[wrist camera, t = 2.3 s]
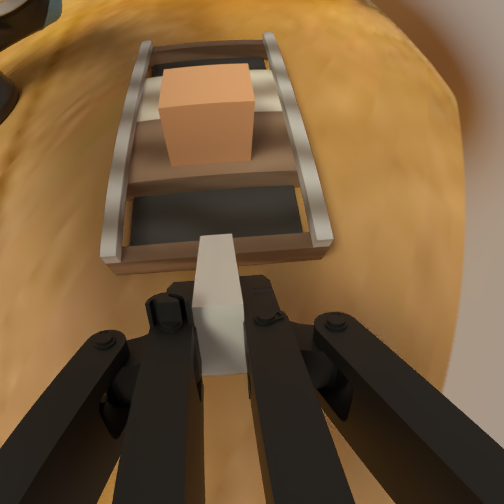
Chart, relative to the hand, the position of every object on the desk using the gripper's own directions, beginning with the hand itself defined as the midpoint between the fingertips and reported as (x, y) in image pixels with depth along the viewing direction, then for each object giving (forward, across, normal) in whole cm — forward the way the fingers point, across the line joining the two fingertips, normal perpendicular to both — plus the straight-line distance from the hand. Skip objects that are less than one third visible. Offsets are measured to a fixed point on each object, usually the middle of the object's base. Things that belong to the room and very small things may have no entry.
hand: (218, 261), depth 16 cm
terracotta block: (+21, 0, +5) cm, 21 cm away
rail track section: (+26, 0, +6) cm, 27 cm away
